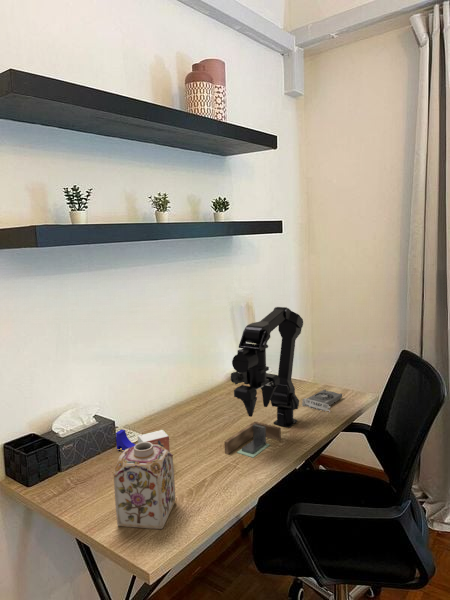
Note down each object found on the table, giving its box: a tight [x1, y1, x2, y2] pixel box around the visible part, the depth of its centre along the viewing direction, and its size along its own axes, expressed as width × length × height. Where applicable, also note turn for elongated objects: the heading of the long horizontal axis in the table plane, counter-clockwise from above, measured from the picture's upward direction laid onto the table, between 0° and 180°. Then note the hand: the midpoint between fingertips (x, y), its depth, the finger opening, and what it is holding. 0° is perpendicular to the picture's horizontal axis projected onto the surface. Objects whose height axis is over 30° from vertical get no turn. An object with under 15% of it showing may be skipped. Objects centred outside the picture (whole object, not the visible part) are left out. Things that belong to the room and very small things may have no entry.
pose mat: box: [236, 442, 271, 459], centre depth 146 cm, size 10×6×1 cm, turn 144°
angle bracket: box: [241, 424, 267, 454], centre depth 145 cm, size 8×4×6 cm, turn 144°
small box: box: [137, 429, 171, 453], centre depth 135 cm, size 8×6×10 cm
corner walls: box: [224, 421, 282, 455], centre depth 147 cm, size 18×10×4 cm, turn 144°
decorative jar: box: [112, 442, 176, 530], centre depth 112 cm, size 12×12×18 cm
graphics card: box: [301, 389, 343, 413], centre depth 182 cm, size 17×4×12 cm
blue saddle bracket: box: [115, 429, 137, 450], centre depth 148 cm, size 12×4×6 cm, turn 66°
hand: (258, 411), depth 147 cm, fingers open, 9 cm apart
